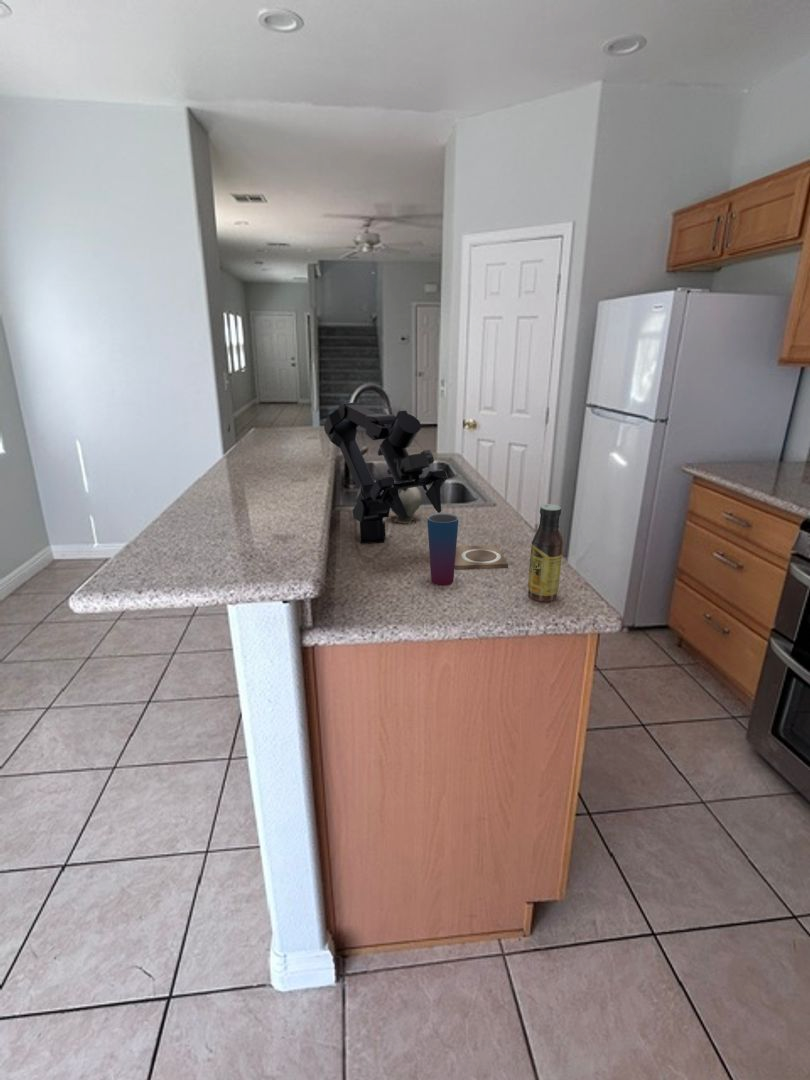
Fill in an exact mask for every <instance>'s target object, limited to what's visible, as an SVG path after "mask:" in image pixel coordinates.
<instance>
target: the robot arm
mask: <svg viewBox="0 0 810 1080" xmlns="http://www.w3.org/2000/svg"><path fill="white" fill-rule="evenodd" d="M323 425H324V426H323V428H324V432H325V434H326V435H327V437H328V439H329V441H330V442H331V443H332V444H333V445H335V446H336V447H338V448H339V449H340V451H341V453H342V456H343V458H344V461H345V463H346V465H347V468H348V470H349V472H350V475H351V476H352V479H353V482H354V483H355V486H356V488H357V495H356V499H355V501H356V504H355V505H354V508H353V509H352V515H353V519H354V520H356V521H358V522H359V543H360V544H369V543H371V544H372V543H384V542H385V539H386V521H384V519H385V518H389V517H390V510H391V511H392V510H394V511H395V512H396V513H397V514H399V515H400V516H401V517H402V518H404V519H407V518H408V516H407V513H406V510H405V508H404V506H403V504H402V502H401V499H400V497H399V494H398V490H401V489H407V488H413V487H417V488H418V487H422V488H423V490H424V491H426V493H425V495H426V497H427V499H428V501H429V502H430V504H431V505H432V507H433V508H434V510H435V511H436V512H437V514H438V513H442V502H441V501H442V500H441V488H442V486H443V485H444V484H445V482H446V481H447V480H448V478H449V476H448V473H447V472H446V470H445V469H442V468H440V469H434V470H429V471H428V472H427V474H426V475H425V477H420V476H421V475H423V473H424V471H423V470H424V469H426V468H429V467H430V465H432V464H433V463H434V462H435V459H434V455H433V453H432V452H431V450H430V449H426V450H423V451H421V452H420V453H415V454H409V452H408V450H407V448H409V447H411V445H412V443H413V442H414V441H415V438H416V437H417V435H418V434H419V432H420V430H421V429H422V426H421V425H422V424H421V421H420V420H419V419H417V417H415V416H414V415H412V414H409V413H408V411H407V410H398V412H397V413H396V415H394V414H389V413H376V412H374V411H373V410H370V409H368V408H366V407H363V406H362V405H360V404H359V403H357V402H344V403H342V404H339V405H338V408H336V409H335V410H334V411H333V412H331V413H330V414H329V415H328V416H327V418H326V420H325V422H324V424H323ZM358 427H361V428H362V429H364V430H365V435H366V436H368V437H369V438H370V439H371V440H372V441H382V442H381V443H380V444H379V449H378V450H377V456H383V459H384V460H385V462H386V465H387V467H388V468H387V470H386V472H387V474H388V475H391V476H387V477H379V478H376V480H374V478H373V476H372V474H371V472H370V469H369V467H368V465H367V463H366V461H365V458H364V456H363V453H362V452H361V449H360V447H359V445H358V443H357V441H356V437H357V433H358Z"/></svg>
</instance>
